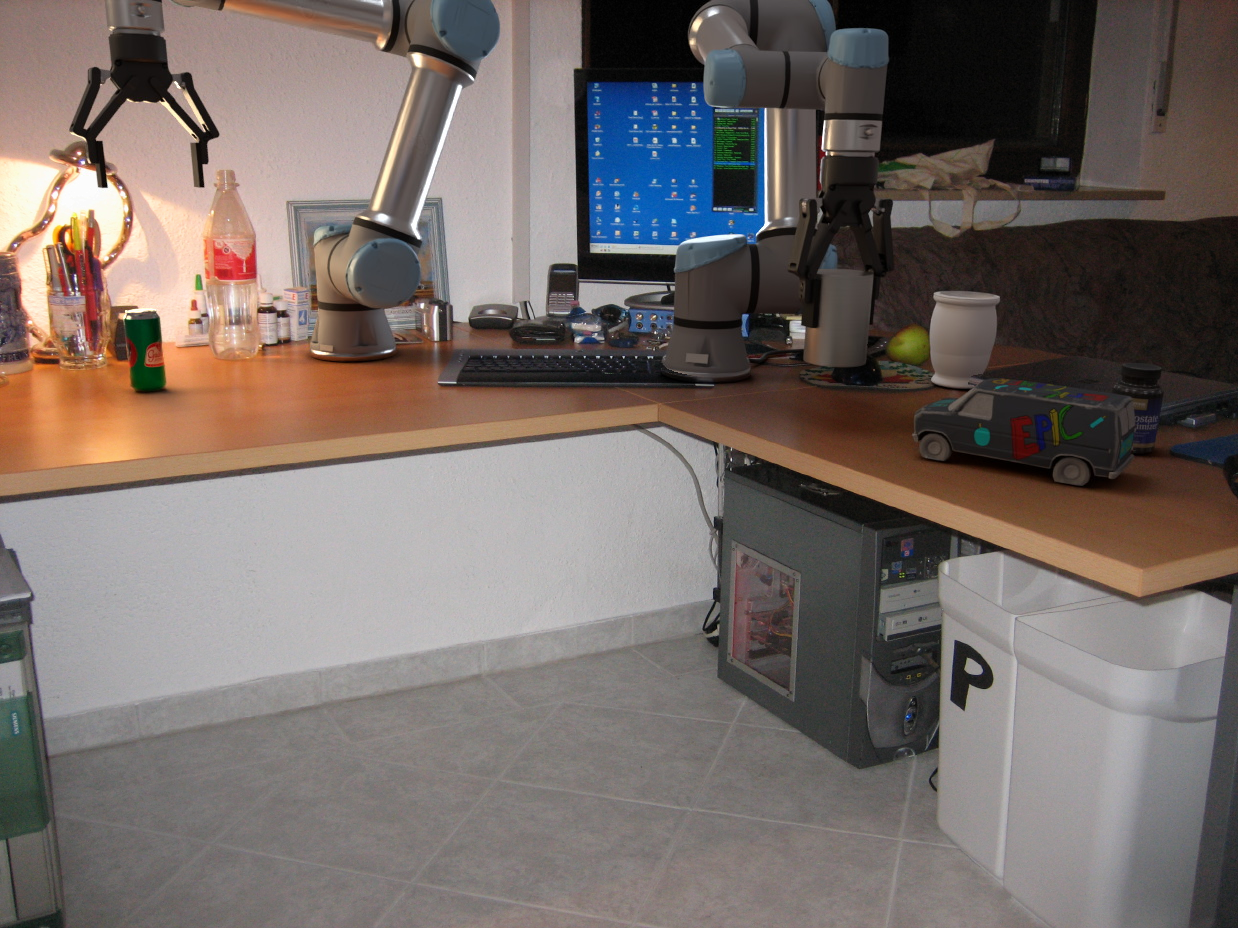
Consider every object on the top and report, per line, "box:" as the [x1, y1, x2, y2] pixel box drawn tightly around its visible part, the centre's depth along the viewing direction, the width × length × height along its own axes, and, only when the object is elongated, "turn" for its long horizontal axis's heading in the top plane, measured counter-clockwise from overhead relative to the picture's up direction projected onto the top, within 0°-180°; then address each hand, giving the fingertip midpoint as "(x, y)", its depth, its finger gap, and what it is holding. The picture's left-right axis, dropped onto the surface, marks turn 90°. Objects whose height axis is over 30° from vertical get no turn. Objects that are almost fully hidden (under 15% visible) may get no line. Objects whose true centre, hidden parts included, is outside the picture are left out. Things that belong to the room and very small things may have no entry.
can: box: [802, 268, 874, 368], centre depth 147 cm, size 9×9×12 cm
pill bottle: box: [1111, 362, 1165, 455], centre depth 139 cm, size 6×6×11 cm
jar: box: [929, 290, 1001, 390], centre depth 176 cm, size 11×10×15 cm
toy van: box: [911, 377, 1136, 487], centre depth 131 cm, size 11×25×10 cm, turn 54°
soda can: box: [123, 308, 168, 392], centre depth 162 cm, size 5×5×12 cm
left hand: (152, 188), depth 158 cm, fingers open, 13 cm apart
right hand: (837, 325), depth 148 cm, fingers closed on can, 9 cm apart
